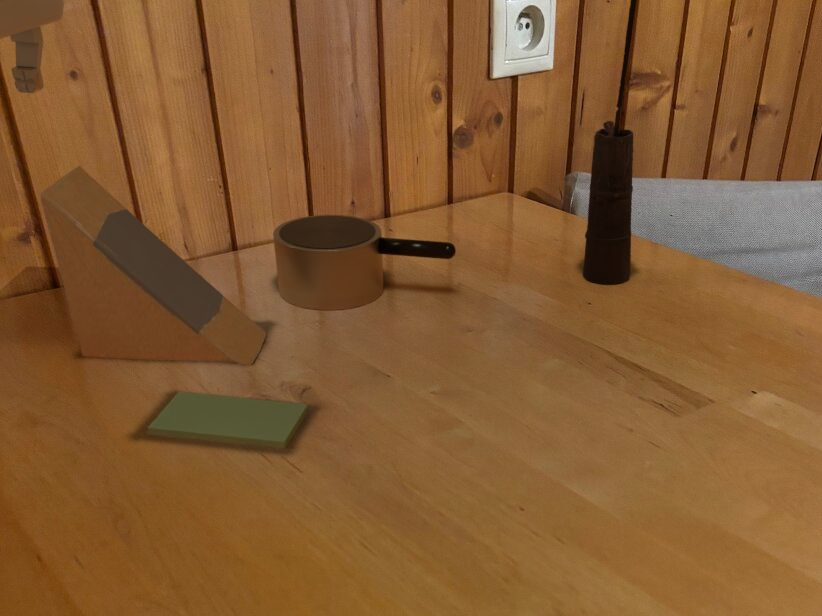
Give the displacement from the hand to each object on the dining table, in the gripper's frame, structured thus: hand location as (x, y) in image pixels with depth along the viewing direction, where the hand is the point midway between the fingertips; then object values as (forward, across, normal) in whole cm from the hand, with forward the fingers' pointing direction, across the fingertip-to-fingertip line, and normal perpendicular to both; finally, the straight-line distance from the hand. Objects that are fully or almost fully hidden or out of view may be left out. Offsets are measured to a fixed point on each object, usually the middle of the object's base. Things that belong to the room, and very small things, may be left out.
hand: (0, 103), depth 76 cm
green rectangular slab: (+20, +13, +22) cm, 32 cm away
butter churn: (+19, -29, +49) cm, 61 cm away
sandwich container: (+20, -1, +12) cm, 23 cm away
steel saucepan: (+20, -18, +25) cm, 37 cm away
